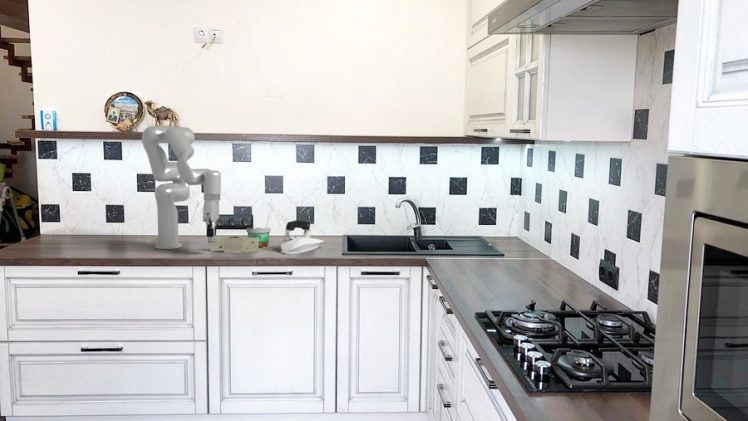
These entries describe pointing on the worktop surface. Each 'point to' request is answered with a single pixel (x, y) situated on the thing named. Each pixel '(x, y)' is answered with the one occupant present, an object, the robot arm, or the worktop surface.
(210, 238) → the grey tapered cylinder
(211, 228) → the robot arm
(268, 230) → the food container
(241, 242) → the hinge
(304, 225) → the iron
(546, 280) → the worktop surface
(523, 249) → the worktop surface
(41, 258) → the worktop surface
